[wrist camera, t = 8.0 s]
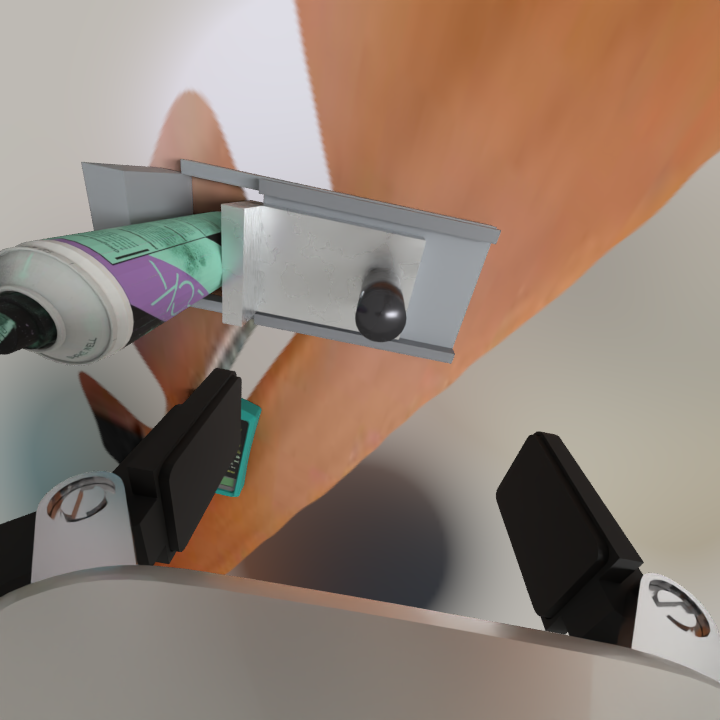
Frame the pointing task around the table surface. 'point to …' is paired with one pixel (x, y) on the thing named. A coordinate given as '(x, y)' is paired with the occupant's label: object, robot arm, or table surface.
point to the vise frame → (442, 233)
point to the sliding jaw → (316, 269)
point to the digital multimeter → (241, 451)
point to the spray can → (105, 286)
